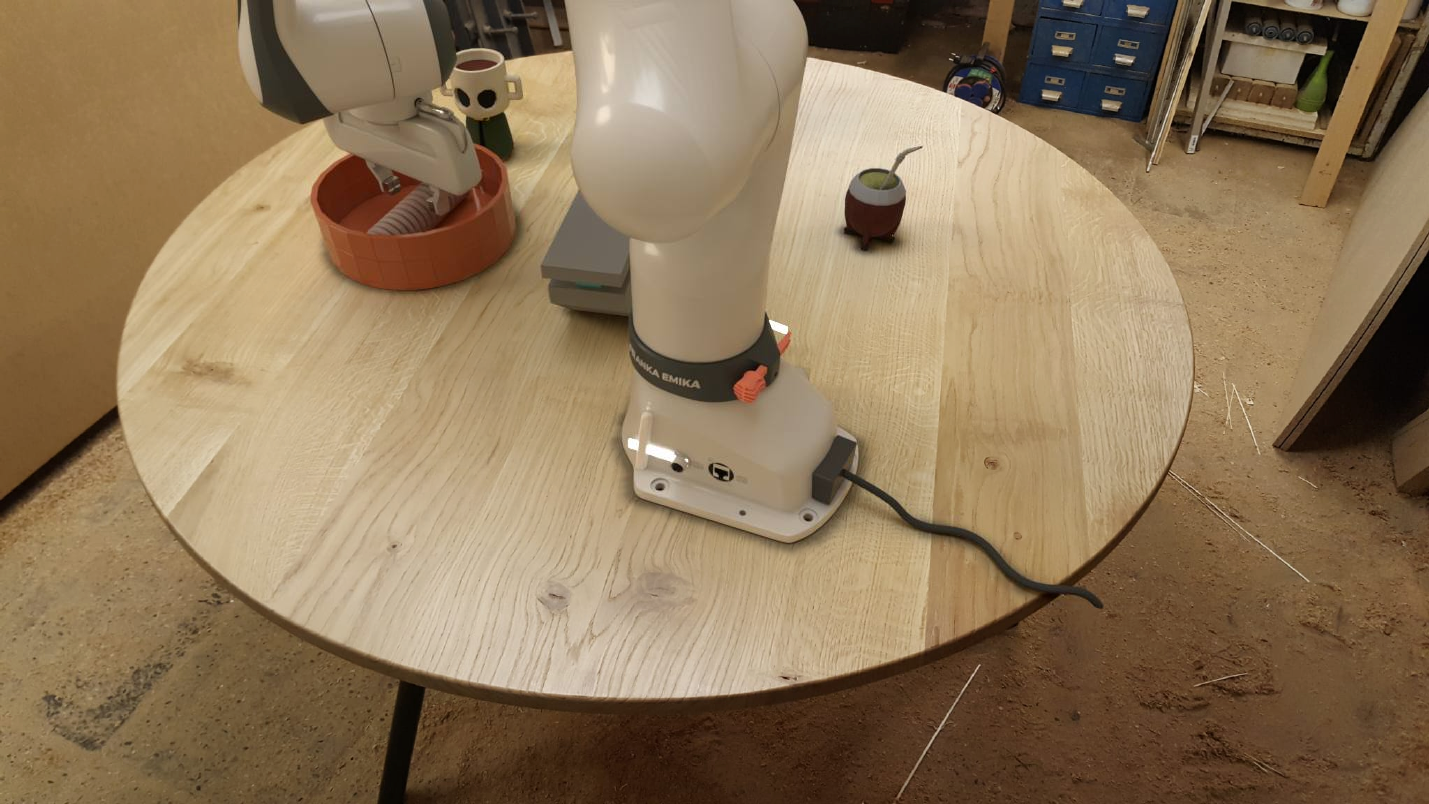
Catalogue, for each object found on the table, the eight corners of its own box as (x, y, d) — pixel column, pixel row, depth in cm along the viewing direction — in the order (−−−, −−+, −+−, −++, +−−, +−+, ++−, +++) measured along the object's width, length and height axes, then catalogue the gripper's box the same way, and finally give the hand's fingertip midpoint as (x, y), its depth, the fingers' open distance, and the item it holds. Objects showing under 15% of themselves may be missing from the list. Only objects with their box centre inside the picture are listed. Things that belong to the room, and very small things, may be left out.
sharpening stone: (626, 359, 90) (620, 274, 82) (552, 349, 91) (540, 265, 83) (672, 224, 107) (671, 144, 100) (610, 218, 108) (604, 137, 100)
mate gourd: (847, 215, 110) (864, 103, 99) (909, 228, 108) (933, 116, 97) (833, 248, 105) (850, 133, 94) (897, 262, 103) (922, 147, 92)
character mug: (444, 164, 116) (424, 69, 107) (459, 138, 121) (441, 45, 112) (525, 169, 116) (512, 74, 107) (536, 142, 121) (524, 50, 112)
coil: (389, 245, 94) (475, 164, 106) (352, 232, 95) (441, 153, 107) (395, 278, 98) (478, 196, 110) (359, 265, 98) (445, 185, 110)
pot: (552, 219, 108) (546, 169, 103) (426, 314, 94) (411, 261, 89) (422, 168, 115) (410, 119, 110) (288, 250, 102) (268, 198, 97)
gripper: (482, 102, 90) (502, 216, 100) (342, 54, 97) (374, 165, 107) (439, 126, 86) (464, 243, 96) (297, 75, 93) (334, 188, 103)
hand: (415, 201), depth 101 cm, fingers open, 6 cm apart
